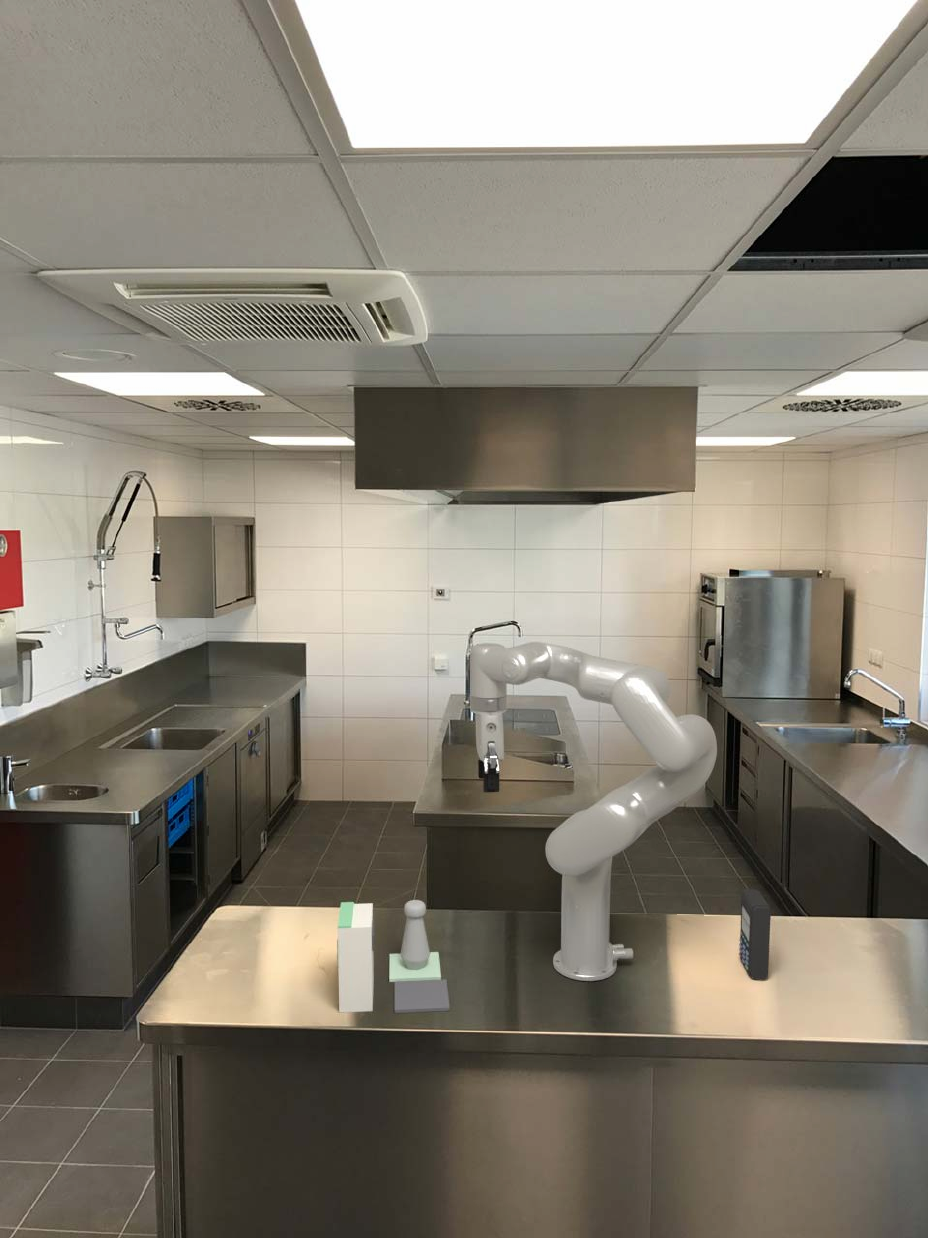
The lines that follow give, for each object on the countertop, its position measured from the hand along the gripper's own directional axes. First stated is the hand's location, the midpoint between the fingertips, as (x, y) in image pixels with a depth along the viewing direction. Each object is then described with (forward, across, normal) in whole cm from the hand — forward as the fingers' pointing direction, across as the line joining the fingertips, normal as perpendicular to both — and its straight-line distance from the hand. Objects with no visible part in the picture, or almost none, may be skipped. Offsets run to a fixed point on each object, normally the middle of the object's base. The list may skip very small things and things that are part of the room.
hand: (488, 784), depth 183 cm
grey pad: (+34, -21, +15) cm, 43 cm away
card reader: (+35, -16, -51) cm, 64 cm away
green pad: (+34, -10, +16) cm, 39 cm away
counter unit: (+34, -19, +27) cm, 48 cm away
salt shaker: (+34, -10, +16) cm, 38 cm away
